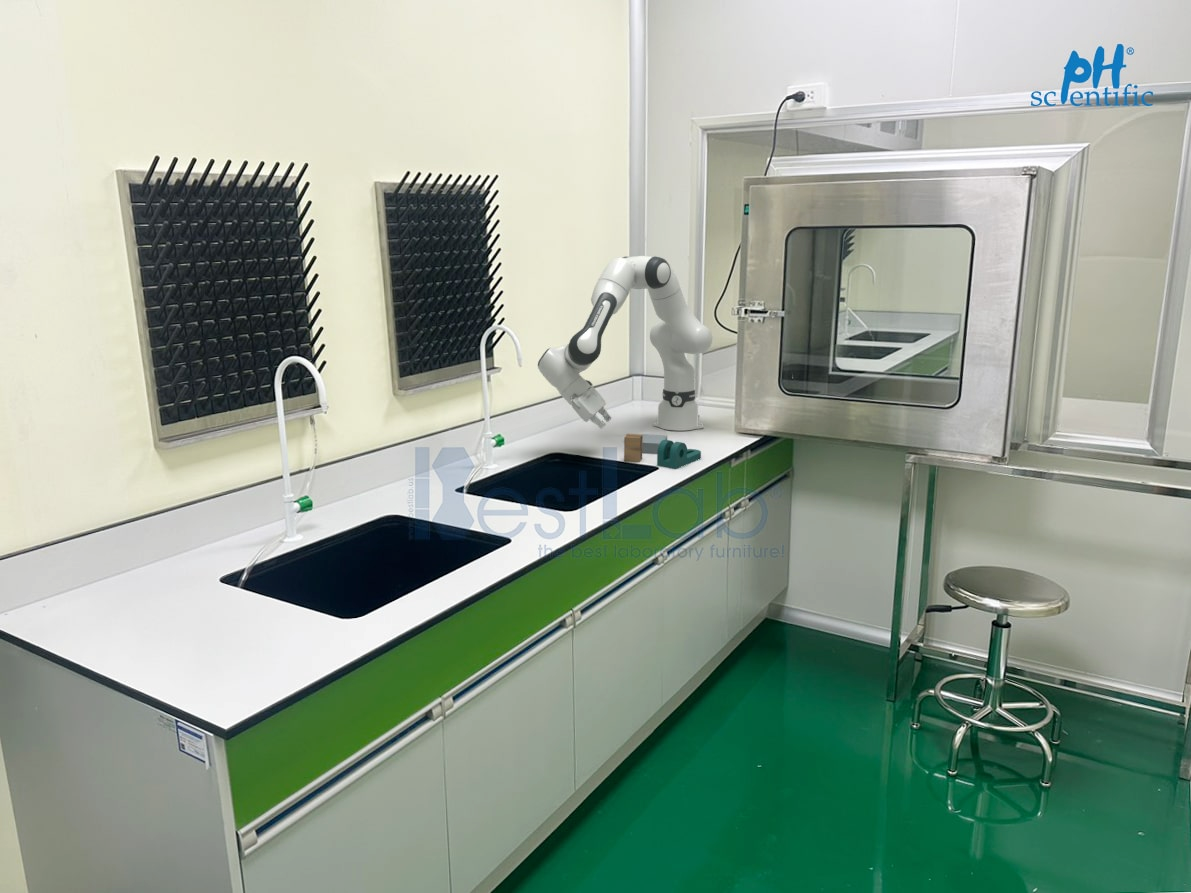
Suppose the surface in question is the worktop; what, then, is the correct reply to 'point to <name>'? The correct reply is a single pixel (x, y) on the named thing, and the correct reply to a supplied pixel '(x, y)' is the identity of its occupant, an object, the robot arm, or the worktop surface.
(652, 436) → the slate base
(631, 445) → the walnut block
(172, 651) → the worktop surface
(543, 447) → the worktop surface
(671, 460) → the bracket
